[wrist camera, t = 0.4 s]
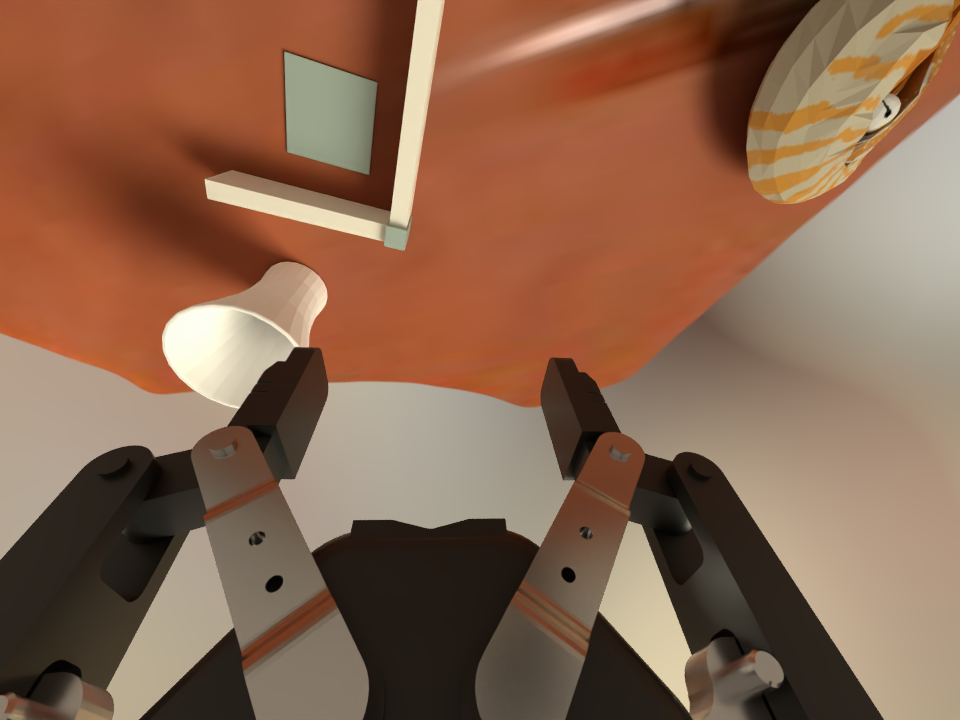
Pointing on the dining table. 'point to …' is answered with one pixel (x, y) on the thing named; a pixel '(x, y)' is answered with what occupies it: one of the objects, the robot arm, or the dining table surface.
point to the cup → (244, 332)
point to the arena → (344, 141)
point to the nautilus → (841, 90)
